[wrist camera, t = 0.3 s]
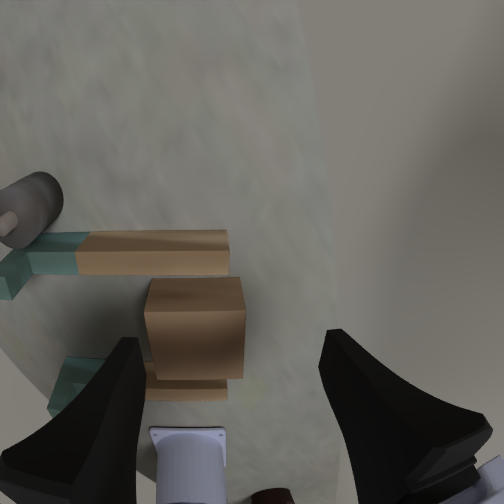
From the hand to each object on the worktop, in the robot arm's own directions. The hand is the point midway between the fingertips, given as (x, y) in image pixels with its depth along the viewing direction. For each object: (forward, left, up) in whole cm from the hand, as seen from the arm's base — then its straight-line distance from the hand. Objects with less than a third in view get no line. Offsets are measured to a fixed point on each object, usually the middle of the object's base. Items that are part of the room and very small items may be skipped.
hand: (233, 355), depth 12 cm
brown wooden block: (-5, +2, -10) cm, 12 cm away
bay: (-3, +7, -10) cm, 13 cm away
